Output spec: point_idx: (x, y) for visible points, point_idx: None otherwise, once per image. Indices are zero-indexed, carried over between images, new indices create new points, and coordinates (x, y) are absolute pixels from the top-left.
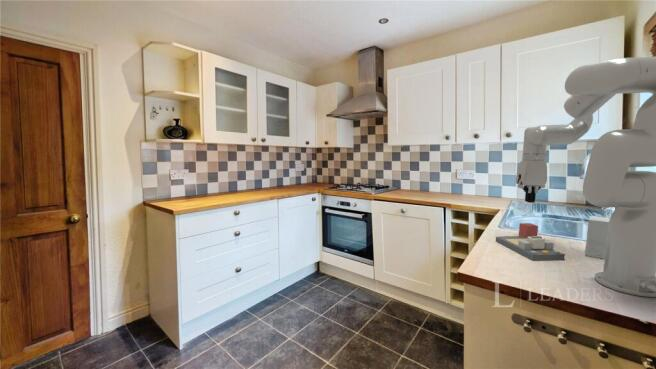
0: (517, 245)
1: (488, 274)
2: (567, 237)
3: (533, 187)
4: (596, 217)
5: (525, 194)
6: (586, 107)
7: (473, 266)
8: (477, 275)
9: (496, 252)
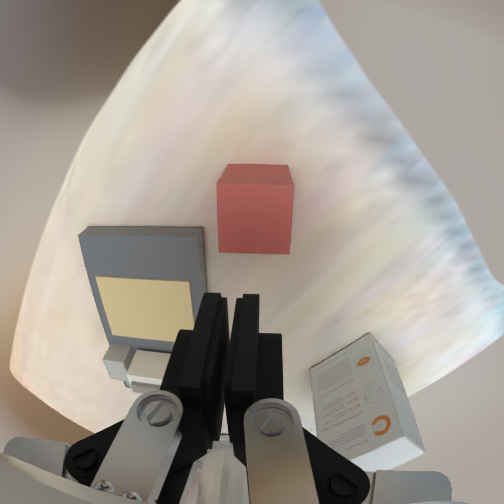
0: (113, 334)
1: (40, 389)
2: (449, 205)
3: (289, 485)
4: (388, 453)
5: (163, 379)
6: None
7: (20, 364)
8: (26, 386)
9: (63, 320)
